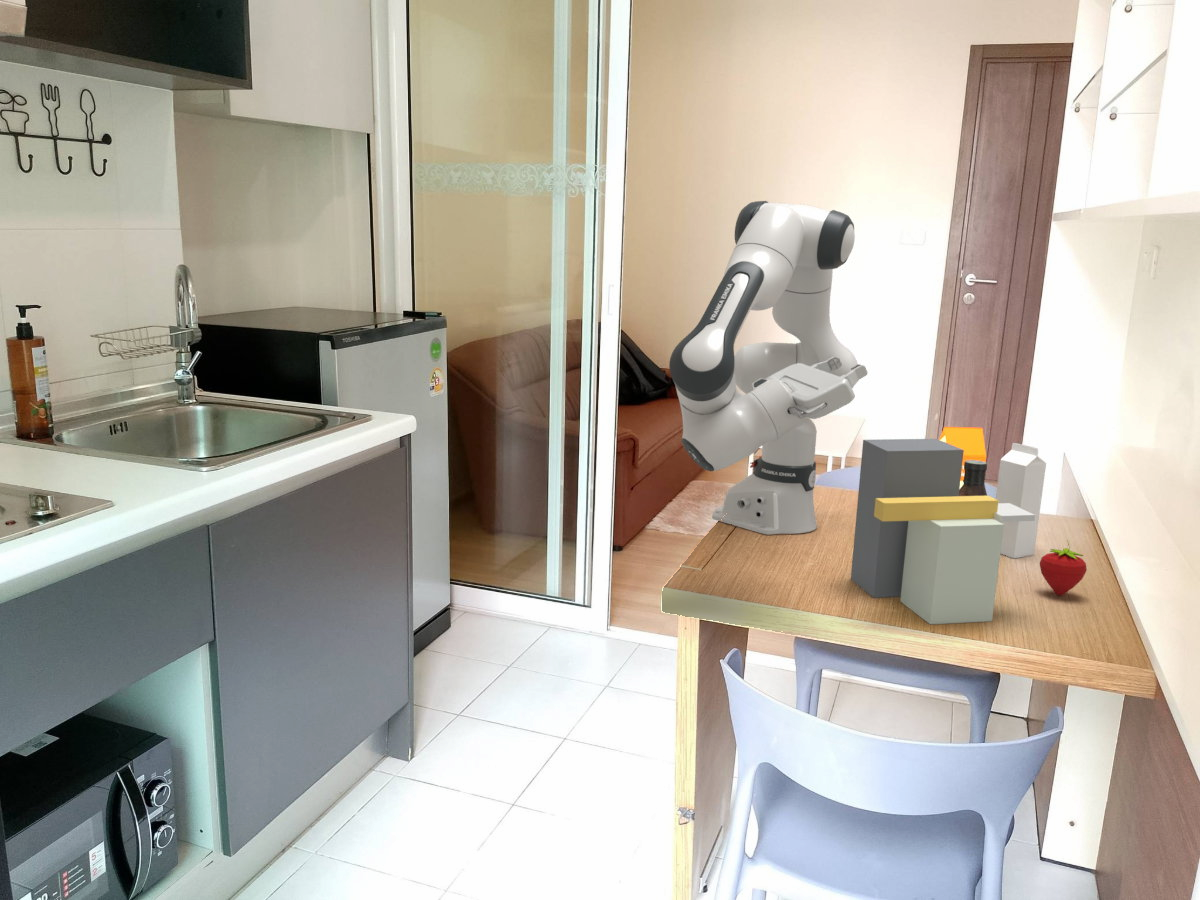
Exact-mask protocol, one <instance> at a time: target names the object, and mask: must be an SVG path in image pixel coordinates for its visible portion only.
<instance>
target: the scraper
mask: <svg viewBox="0 0 1200 900" xmlns="http://www.w3.org/2000/svg"><path fill="white" fill-rule="evenodd" d="M998 502H999V500H996V498H994V497H993V496H990V495H987V496H950V497H908V498H876V500H875V511H874V516H875V517H876V518H878V519H879V520H881V521H917V520H952V519H987V518H992V519H993V518H994V519H996V520H998V521H1000V522H1014V521H1034V520H1035V515H1034V514H1032V513H1030V512H1028V511H1025V510H1023V509H1021V508H1019V507H1017V506H1015V505H1013V504H1011V503H998Z"/></svg>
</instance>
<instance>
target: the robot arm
mask: <svg viewBox="0 0 1200 900" xmlns="http://www.w3.org/2000/svg"><path fill="white" fill-rule="evenodd" d="M735 222H736V223H735V226H734V227H735V228H734V242H735V245H734V246H735V247H734V248H733V250H732V253H731V255H730V257H729V260H728V263H727V265H726V268H725V269H724V270H725V271H724V273H723V277H722V279H721V281H720V283H719V284H718V286H717V289H716V290H715V292H714V294H713V295H712V297H711V299H710V301H709V303H708V305H707V307H706V309H705V311H704V313H703V314H702V316H701V318H700V320H699V322H698V323H697V325H696V326H695V327H694V328H693V329H692V330H691V331H690V333H688V334H687V335H686V336H685V337H684V338H682V340H680V341H679V343H678V344H677V345H676V346H674V347H675V348H674V349H673V351H672V352H671V355H670V359H669V364H668V365H669V367H668V368H669V372H670V373H669V374H670V376H671V378H672V381H673V383H674V385H675V389H676V394H677V397H678V400H679V407H680V411H681V415H682V416H681V418H682V437H681V442H682V446H683V448H684V449H685V451H686V453H687V454H688V455H689V456H690V458H691V459H692V460H693V462H694V463H696V464H697V466H699V467H700V468H701V469H703V470H705V471H709V472H717V471H720V470H723V469H725V468H728V467H730V466H733V465H735V464H736V463H739V462H740V461H742V460H744V459H746V458H747V457H750V456H751V455H753V454H755V453H756V452H757V451H758V449H759V448H761V455H760V456H759V457H758V458H757V459H754V460H753V461H752V462H750V465H749V468H750V469H751V468H753V469H752V470H753V471H752V473H751V474H750V475H748V476H746V477H745V478H744V479H741V481H739V482H737V483H736V484H734V485H733V486H731V487H730V488H729V489H728V490H727V492H726V494H725V498H724V501H723V505H721V506H720V507H716V509H714V511H713V512H712V516H711V518H712V520H713V521H714V520H715V521H719V522H721V523H725V524H728V525H731V524H732V526H735V527H738V528H741V529H742V528H743V529H746V530H749V531H753V532H756V533H759V534H763V535H779V534H788V535H789V534H802V533H803V534H804V533H809V532H813V531H815V530H816V529H817V528H818V524H817V520H816V513H815V505H814V489H815V484H816V480H817V479H816V478H817V462H816V461H815V458H816V456H815V455H816V446H817V432H818V431H817V427H816V425H815V423H814V421H813V420H816V419H820V418H822V417H824V416H827V415H829V414H831V413H833V412H835V411H837V410H839V409H841V408H842V407H845V406H847V405H849V404H850V403H852V402H853V400H854V399H855V397H856V395H855V393H854V392H855V391H854V389H853V388H854V386H855V385H856V384H858V382H859V381H860V380H862V378H865V377H866V376H868V370H867V369H866V366H865V365H864V364H863V365H862V364H860V363H859V364H858V361H857V359H856V357H855V355H854V354H853V352H852V351H851V350H850V349H849V348H847V347H846V346H845V345H844V344H842V343H841V341H840V340H839V339H838V338H837V336H836V334H835V333H834V330H833V327H832V323H831V318H830V314H831V313H830V310H831V309H830V305H831V291H832V282H833V271H834V270H835V269H838V268H839V267H841V266H842V265H845V263H846V262H847V261H848V259H849V257H850V255H851V253H852V252H853V249H854V245H855V237H856V236H855V224H854V222H853V220H852V219H851V217H850V216H849V215H848V214H846V213H843V212H841V211H837V210H835V209H832V210H828V209H826V208H822V207H817V206H813V205H810V204H809V205H808V204H802V203H798V204H797V203H796V204H795V203H786V202H769V201H768V200H757V201H751V202H749V203H748V204H747V205H745V206H744V207H743V208H742V209H741V210H740V212H739V214H738V215H737V218H736V221H735ZM770 308H772V313H771V314H772V317H773V320H774V322H775V323H776V324H777V326H778V327H780V328H781V330H782V331H784V332H786V333H788V334H790V335H793V337H795V338H796V339H798V340H799V342H796V343H791V342H790V343H788V342H769V341H768V342H766V341H764V342H758V343H757V342H755V343H751V344H745V345H742V346H741V347H740V348H739V349H738V350H737V351H736V352H735V343H736V340H737V338H738V336H739V334H740V332H741V329H742V328H743V325H744V323H745V321H746V320H747V317H748V315H749V314H750V311H764V310H768V309H770ZM738 389H739V390H738ZM739 391H742V392H743V393H744V394H742V393H740V392H739ZM726 513H727V514H726ZM724 515H725V516H724ZM723 516H724V517H723ZM721 519H722V521H720V520H721Z"/></svg>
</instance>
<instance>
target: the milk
mask: <svg viewBox="0 0 1200 900" xmlns="http://www.w3.org/2000/svg"><path fill="white" fill-rule="evenodd" d="M1010 449H1011V450H1009V451H1008V452H1007V453H1006V454H1005V455H1003V457H1001V459H1000V462H999V470H998V475H997V486H996V494H995V499H996V500H999V502H998V503H1011V504H1013V505H1015V506H1017V507H1019V508H1021V509H1023V510H1025V511H1028V512H1030V513H1032V514H1034V515H1035V520H1034V521H1014V522H1000V521H998V520H996V519H994V518H992V519H994V520H996V521H998V522H1000V523H1002V524H1004V530H1003V538H1002V546H1001V554H1000V555H1002V554H1003V556H1005V555H1006V557H1009V558H1010V559H1011V558H1012V559H1018V558H1024V557H1029V556H1033V555H1035V549H1036V542H1037V535H1038V526H1039V522H1040V521H1039V520H1040V514H1041V513H1040V512H1041V511H1040V510H1041V505H1042V497H1043V492H1044V491H1043V490H1044V483H1045V477H1046V476H1045V475H1046V468H1047V467H1046V466H1047V462H1045V460H1043V459H1042V458H1040V456H1039V455H1038V454H1039V448H1038V447H1033V446H1029V445H1026V444H1022V443H1021V444H1020V443H1016V442H1013V443H1012V444H1011V448H1010Z"/></svg>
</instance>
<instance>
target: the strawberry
mask: <svg viewBox="0 0 1200 900" xmlns="http://www.w3.org/2000/svg"><path fill="white" fill-rule="evenodd" d="M1066 542H1067V545H1068V547H1064V548H1063V549H1062V550H1061V549H1053V548H1050V550H1049V552H1050V553H1047V554H1044V555H1043V556H1042V557H1041V559H1040V561H1039V567H1040V568H1039V569H1040V572H1041V575H1042V576H1043V578H1044V580H1045V582H1047V583H1046V584H1048V586H1049V587H1050V588H1051V589H1052V591H1053V592H1054V594H1056V595H1057V596H1064V595H1066V594H1067V593H1068V592H1069V591H1070V590H1072V589H1073V588H1075V587H1076V586H1077V585H1078V584H1079V583H1080V582H1081V581H1083V578H1084V576H1085V575H1086V572H1087V563H1086V562H1085V560H1083V558H1081V557H1083V556H1084V555H1083V554H1081V553H1078V552H1076V551H1073V550H1070V549H1071V547H1070V546H1071V545H1070V543H1069V540H1068V539H1067V540H1066Z"/></svg>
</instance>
